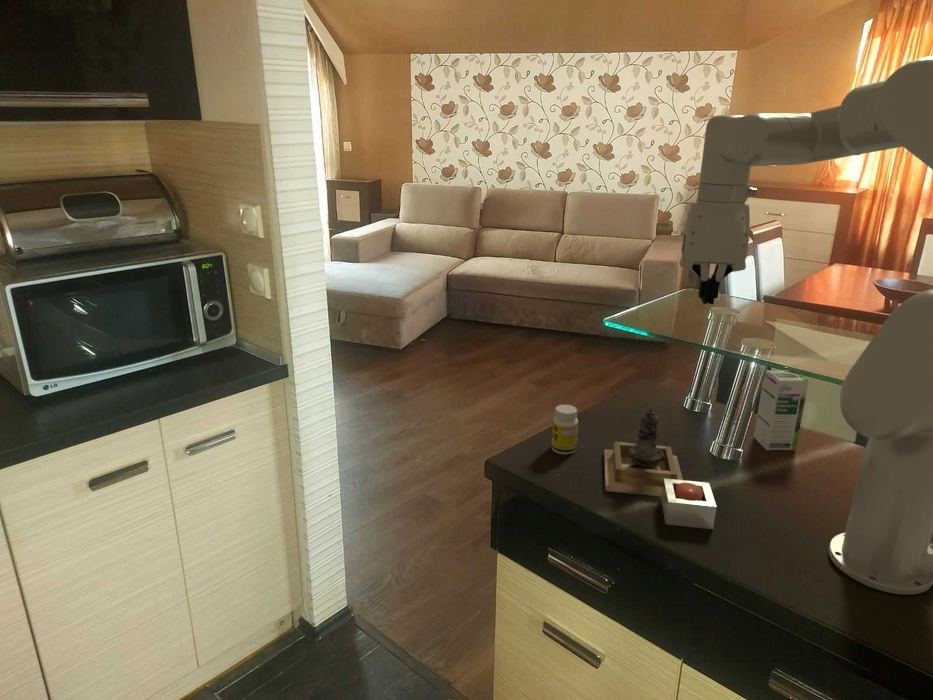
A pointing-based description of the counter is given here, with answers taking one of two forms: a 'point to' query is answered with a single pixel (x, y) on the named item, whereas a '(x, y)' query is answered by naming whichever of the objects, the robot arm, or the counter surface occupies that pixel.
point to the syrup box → (780, 410)
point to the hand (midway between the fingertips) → (707, 301)
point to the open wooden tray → (638, 471)
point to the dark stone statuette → (646, 444)
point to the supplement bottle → (564, 429)
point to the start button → (688, 492)
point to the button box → (688, 506)
